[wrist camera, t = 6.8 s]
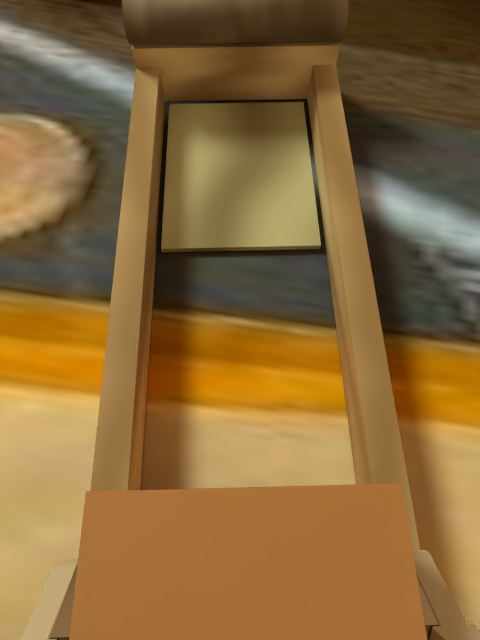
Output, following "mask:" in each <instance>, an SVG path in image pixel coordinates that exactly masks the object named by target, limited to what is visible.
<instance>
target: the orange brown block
mask: <svg viewBox="0 0 480 640" xmlns="http://www.w3.org/2000/svg"><path fill="white" fill-rule="evenodd" d="M69 640H427V635H426V629H425V623H424V617H423V611H422V605H421V599H420V593H419V587H418V581H417V574H416V568H415V562H414V556H413V550H412V544H411V538H410V532H409V526H408V520H407V514H406V508H405V502H404V496H403V490H402V484H366V485H326V486H287V487H247V488H207V489H168V490H128V491H88V492H86V496H85V504H84V513H83V522H82V531H81V540H80V549H79V557H78V566H77V575H76V584H75V593H74V602H73V610H72V619H71V628H70V637H69Z"/></svg>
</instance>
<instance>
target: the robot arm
mask: <svg viewBox="0 0 480 640" xmlns="http://www.w3.org/2000/svg"><path fill="white" fill-rule="evenodd" d="M413 556H414V562H415V568H416V574H417V581H418V587H419V593H420V599H421V605H422V611H423V617H424V623H425V629H426V635H427V640H480V630H479V629H478V628H477V627H476V626H475V625H467V624H466V622H465V620H464V618H463V616H462V615H461V613H460V611H459V609H458V607H457V605H456V603H455V601H454V599H453V597H452V595H451V593H450V591H449V589H448V587H447V585H446V583H445V581H444V580H443V578H442V576H441V574H440V572H439V570H438V568H437V566H436V564H435V562H434V560H433V558H432V556H431V554H430V553H429V552H428V551H427V550H413ZM77 566H78V560H57V561H56V563H55V564H54V565H53V567H52V568H51V570H50V573H49V575H48V577H47V580H46V582H45V584H44V587H43V589H42V591H41V594H40V596H39V598H38V601H37V603H36V605H35V608H34V610H33V612H32V615H31V617H30V619H29V622H28V624H27V626H26V629H25V631H24V633H23V636H22V638H21V640H69V637H70V628H71V619H72V610H73V602H74V593H75V584H76V575H77Z"/></svg>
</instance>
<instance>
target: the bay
mask: <svg viewBox="0 0 480 640" xmlns="http://www.w3.org/2000/svg"><path fill="white" fill-rule="evenodd" d="M122 12H123V20H124V27H125V32H126V36H127V39H128V42H129V44H130V45H132V53H133V57H134V61H135V66H136V73H135V82H134V92H133V101H132V110H131V119H130V129H129V138H128V147H127V157H126V166H125V175H124V184H123V194H122V203H121V212H120V222H119V231H118V240H117V249H116V259H115V268H114V277H113V287H112V296H111V305H110V314H109V324H108V333H107V342H106V352H105V361H104V370H103V379H102V389H101V398H100V407H99V417H98V426H97V435H96V444H95V454H94V463H93V472H92V482H91V491H128V490H141V478H142V462H143V447H144V431H145V415H146V399H147V384H148V368H149V352H150V336H151V320H152V305H153V289H154V273H155V257H156V241H157V226H158V210H159V194H160V178H161V163H162V147H163V131H164V115H165V101H214V100H273V99H307V102H308V110H309V118H310V125H311V133H312V141H313V149H314V157H315V164H316V172H317V180H318V188H319V196H320V204H321V211H322V219H323V227H324V235H325V243H326V250H327V258H328V266H329V274H330V282H331V289H332V297H333V305H334V313H335V321H336V329H337V336H338V344H339V352H340V360H341V368H342V375H343V383H344V391H345V399H346V407H347V414H348V422H349V430H350V438H351V446H352V454H353V461H354V469H355V477H356V485H366V484H402V490H403V496H404V502H405V508H406V514H407V520H408V526H409V532H410V538H411V544H412V550H420V544H419V539H418V533H417V527H416V522H415V516H414V510H413V504H412V499H411V493H410V487H409V481H408V476H407V470H406V464H405V459H404V453H403V447H402V441H401V436H400V430H399V424H398V419H397V413H396V407H395V401H394V396H393V390H392V384H391V378H390V373H389V367H388V361H387V356H386V350H385V344H384V338H383V333H382V327H381V321H380V315H379V310H378V304H377V298H376V293H375V287H374V281H373V275H372V270H371V264H370V258H369V253H368V247H367V241H366V235H365V230H364V224H363V218H362V212H361V207H360V201H359V195H358V190H357V184H356V178H355V172H354V167H353V161H352V155H351V150H350V144H349V138H348V132H347V127H346V121H345V115H344V109H343V104H342V98H341V92H340V87H339V81H338V75H337V69H336V61H337V57H338V52H339V47H340V44H339V42H341V41H342V40H343V37H344V34H345V30H346V25H347V18H348V0H122ZM320 247H321V241H320V233H319V224H318V216H317V208H316V200H315V192H314V184H313V175H312V167H311V159H310V151H309V143H308V135H307V127H306V118H305V110H304V102H267V103H208V104H169V121H168V138H167V156H166V173H165V190H164V208H163V225H162V243H161V250H162V252H202V251H249V250H296V249H320Z"/></svg>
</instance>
